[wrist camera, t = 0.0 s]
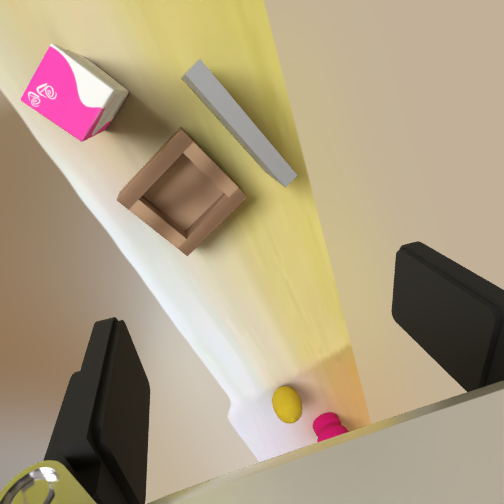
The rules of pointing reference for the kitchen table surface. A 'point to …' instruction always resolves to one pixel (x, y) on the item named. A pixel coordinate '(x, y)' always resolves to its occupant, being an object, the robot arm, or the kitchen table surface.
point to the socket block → (182, 193)
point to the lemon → (287, 404)
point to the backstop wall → (237, 122)
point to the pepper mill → (328, 426)
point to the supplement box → (74, 93)
